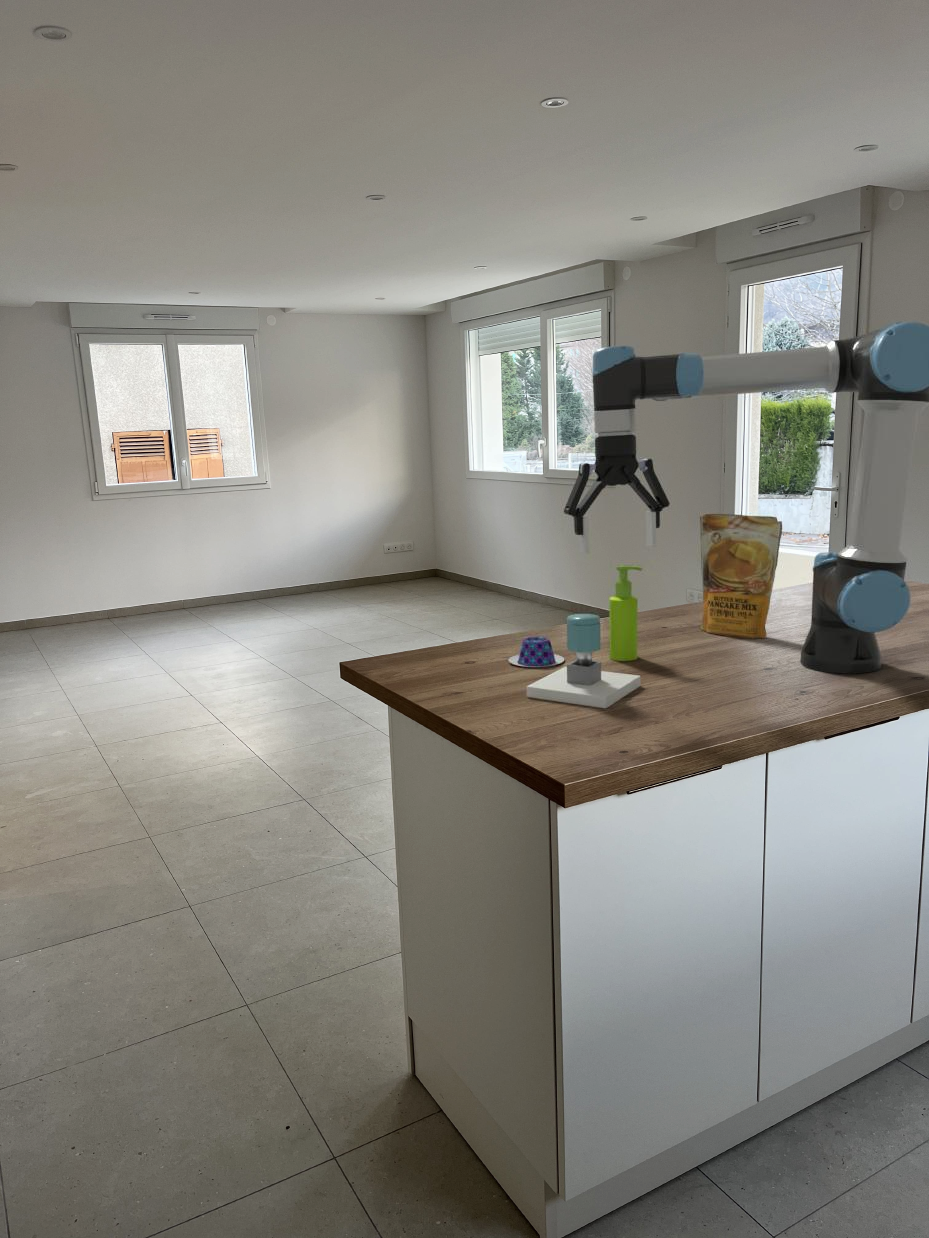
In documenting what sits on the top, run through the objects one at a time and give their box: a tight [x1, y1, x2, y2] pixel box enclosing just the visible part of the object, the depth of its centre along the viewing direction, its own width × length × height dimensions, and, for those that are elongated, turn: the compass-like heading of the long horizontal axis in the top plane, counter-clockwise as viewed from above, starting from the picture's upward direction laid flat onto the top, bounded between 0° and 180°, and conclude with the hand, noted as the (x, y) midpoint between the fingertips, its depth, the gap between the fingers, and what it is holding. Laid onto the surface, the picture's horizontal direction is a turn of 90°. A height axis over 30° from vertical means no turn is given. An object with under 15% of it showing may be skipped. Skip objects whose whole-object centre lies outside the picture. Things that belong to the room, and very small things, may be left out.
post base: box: [526, 659, 641, 709], centre depth 170 cm, size 16×16×6 cm
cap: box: [566, 613, 601, 653], centre depth 168 cm, size 6×6×6 cm
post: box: [575, 652, 593, 667], centre depth 169 cm, size 3×3×10 cm
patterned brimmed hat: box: [508, 636, 565, 668], centre depth 193 cm, size 12×12×5 cm
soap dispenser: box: [608, 564, 643, 662], centre depth 192 cm, size 6×7×20 cm
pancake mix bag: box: [699, 513, 783, 640], centre depth 210 cm, size 7×19×28 cm, turn 48°
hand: (618, 549), depth 170 cm, fingers open, 13 cm apart
